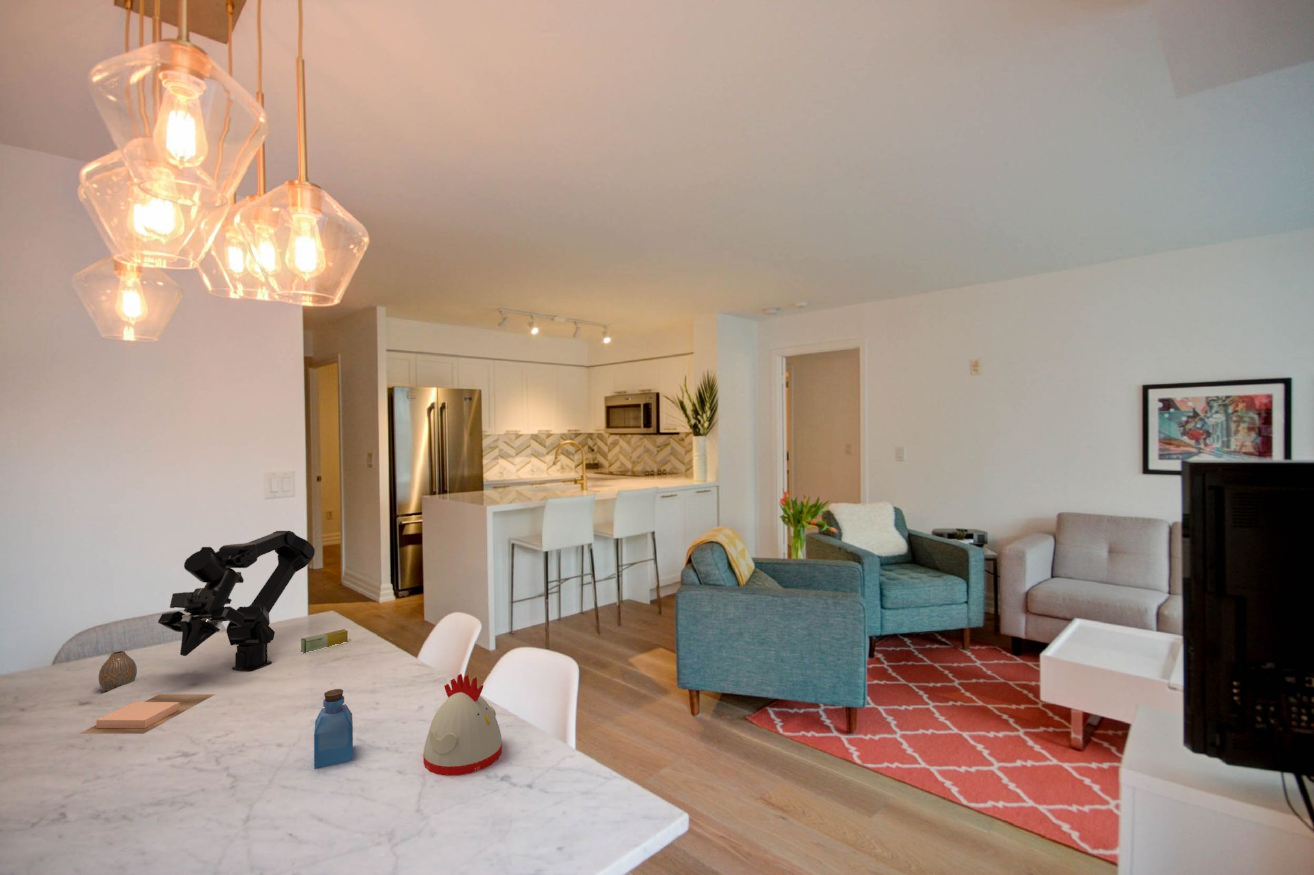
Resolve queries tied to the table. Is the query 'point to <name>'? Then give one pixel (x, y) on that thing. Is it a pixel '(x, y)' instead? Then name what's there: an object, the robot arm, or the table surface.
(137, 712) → the tile
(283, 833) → the table surface
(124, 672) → the vase
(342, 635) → the medication box
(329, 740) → the perfume bottle
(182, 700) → the board
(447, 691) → the kitchen timer
